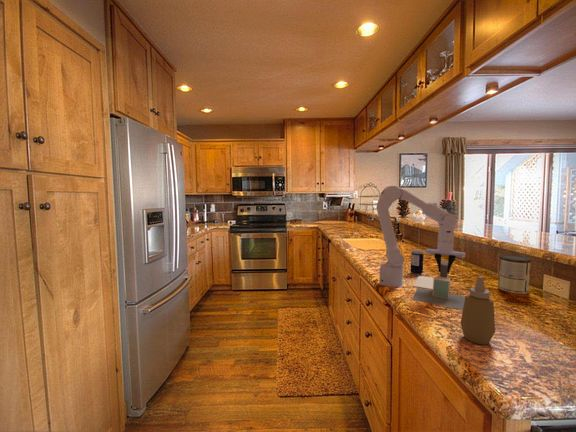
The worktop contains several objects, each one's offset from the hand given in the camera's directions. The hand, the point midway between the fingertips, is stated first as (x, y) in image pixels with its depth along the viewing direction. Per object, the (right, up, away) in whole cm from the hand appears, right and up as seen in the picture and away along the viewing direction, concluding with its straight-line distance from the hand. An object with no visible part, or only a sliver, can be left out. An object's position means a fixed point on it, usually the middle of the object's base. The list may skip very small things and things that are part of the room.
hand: (444, 272), depth 118 cm
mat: (-8, -8, -12) cm, 17 cm away
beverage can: (-2, -6, +22) cm, 22 cm away
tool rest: (-5, -7, +6) cm, 10 cm away
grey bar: (-1, -3, -1) cm, 3 cm away
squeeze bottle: (-14, -11, -41) cm, 44 cm away
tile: (-7, -8, -11) cm, 15 cm away
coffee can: (+29, -8, -1) cm, 30 cm away
